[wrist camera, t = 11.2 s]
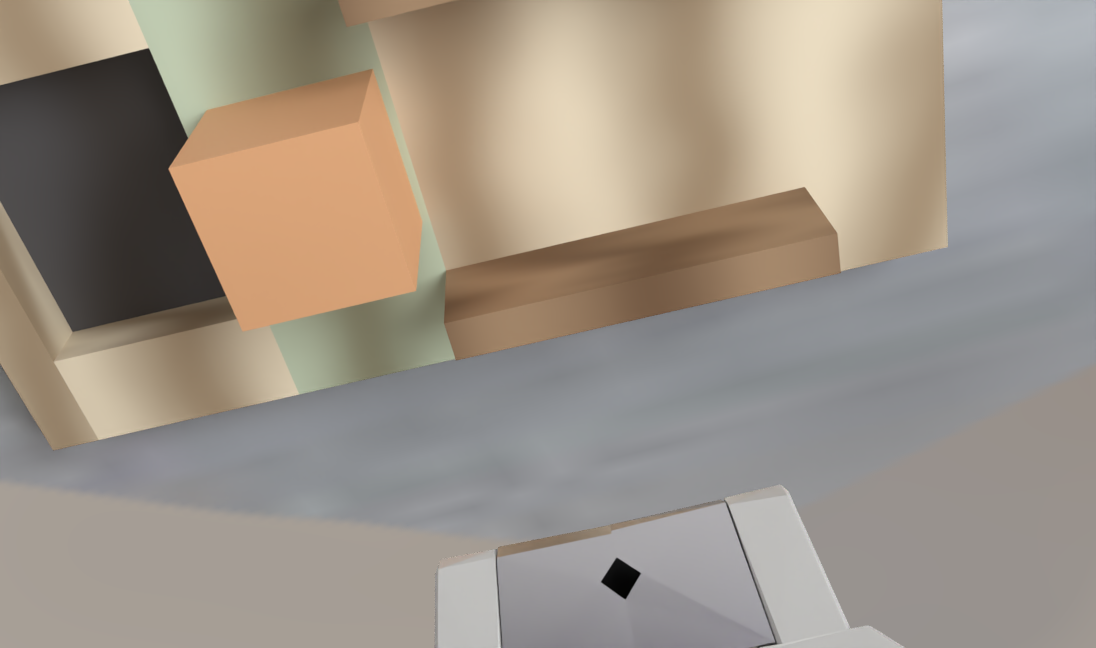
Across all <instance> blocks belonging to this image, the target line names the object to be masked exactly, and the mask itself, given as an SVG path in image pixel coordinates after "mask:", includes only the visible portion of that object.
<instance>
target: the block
mask: <svg viewBox="0 0 1096 648" xmlns="http://www.w3.org/2000/svg"><path fill="white" fill-rule="evenodd" d="M168 169H169V171H170V173H171V176H172V178H173V180H174V182H175V184H176V187H177V189H178V191H179V193H180V195H181V197H182V200H183V202H184V204H185V206H186V208H187V211H188V213H189V215H190V217H191V219H192V222H193V224H194V226H195V228H196V230H197V233H198V235H199V237H200V239H201V241H202V244H203V246H204V248H205V250H206V252H207V255H208V257H209V259H210V261H211V263H212V266H213V268H214V270H215V272H216V274H217V276H218V279H219V281H220V283H221V285H222V287H223V290H224V292H225V294H226V296H227V298H228V301H229V303H230V305H231V307H232V309H233V312H234V314H235V316H236V318H237V320H238V323H239V325H240V327H241V329H242V331H243V332H244V331H248V330H252V329H257V328H261V327H265V326H269V325H274V324H278V323H282V322H286V321H291V320H295V319H299V318H303V317H308V316H312V315H316V314H320V313H325V312H329V311H333V310H337V309H342V308H346V307H350V306H354V305H359V304H363V303H367V302H371V301H376V300H380V299H384V298H388V297H393V296H397V295H401V294H405V293H410V292H414V291H416V289H417V278H418V267H419V256H420V245H421V234H422V223H423V222H422V219H421V216H420V213H419V209H418V206H417V203H416V200H415V197H414V194H413V191H412V188H411V185H410V182H409V179H408V176H407V172H406V169H405V166H404V163H403V160H402V157H401V154H400V151H399V148H398V145H397V142H396V139H395V136H394V132H393V129H392V126H391V123H390V120H389V117H388V114H387V111H386V108H385V105H384V102H383V99H382V96H381V92H380V89H379V86H378V83H377V80H376V77H375V74H374V71H373V69H370V70H365V71H361V72H357V73H353V74H349V75H345V76H341V77H337V78H333V79H329V80H325V81H321V82H317V83H313V84H309V85H305V86H301V87H297V88H293V89H289V90H285V91H281V92H277V93H273V94H269V95H265V96H261V97H257V98H253V99H249V100H245V101H241V102H237V103H233V104H229V105H225V106H221V107H217V108H213V109H209V110H207V111H206V112H205V114H204V115H203V117H202V118H201V120H200V121H199V123H198V124H197V126H196V127H195V129H194V130H193V132H192V133H191V135H190V136H189V138H188V139H187V141H186V143H185V144H184V146H183V147H182V149H181V150H180V152H179V153H178V155H177V156H176V158H175V159H174V161H173V162H172V164H171V165H170V167H169V168H168Z"/></svg>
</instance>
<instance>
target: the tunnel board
mask: <svg viewBox="0 0 1096 648" xmlns="http://www.w3.org/2000/svg"><path fill="white" fill-rule="evenodd" d="M370 69H373V71H374V74H375V77H376V80H377V83H378V86H379V89H380V92H381V96H382V99H383V102H384V105H385V108H386V111H387V114H388V117H389V120H390V123H391V126H392V129H393V132H394V136H395V139H396V142H397V145H398V148H399V151H400V154H401V157H402V160H403V163H404V166H405V169H406V172H407V176H408V179H409V182H410V185H411V188H412V191H413V194H414V197H415V200H416V203H417V206H418V209H419V213H420V216H421V219H422V222H423V223H422V234H421V245H420V256H419V267H418V278H417V289H416V291H414V292H410V293H405V294H401V295H397V296H393V297H388V298H384V299H380V300H376V301H371V302H367V303H363V304H359V305H354V306H350V307H346V308H342V309H337V310H333V311H329V312H325V313H320V314H316V315H312V316H308V317H303V318H299V319H295V320H291V321H286V322H282V323H278V324H274V325H269V326H265V327H261V328H257V329H252V330H248V331H244V332H243V331H242V329H241V327H240V325H239V323H238V320H237V318H236V316H235V314H234V312H233V309H232V307H231V305H230V303H229V301H228V298H227V296H226V294H225V292H224V290H223V287H222V285H221V283H220V281H219V279H218V276H217V274H216V272H215V270H214V268H213V266H212V263H211V261H210V259H209V257H208V255H207V252H206V250H205V248H204V246H203V244H202V241H201V239H200V237H199V235H198V233H197V230H196V228H195V226H194V224H193V222H192V219H191V217H190V215H189V213H188V211H187V208H186V206H185V204H184V202H183V200H182V197H181V195H180V193H179V191H178V189H177V187H176V184H175V182H174V180H173V178H172V176H171V173H170V171H169V169H168V168H169V167H170V165H171V164H172V162H173V161H174V159H175V158H176V156H177V155H178V153H179V152H180V150H181V149H182V147H183V146H184V144H185V143H186V141H187V139H188V138H189V136H190V135H191V133H192V132H193V130H194V129H195V127H196V126H197V124H198V123H199V121H200V120H201V118H202V117H203V115H204V114H205V112H206V111H207V110H209V109H213V108H217V107H221V106H225V105H229V104H233V103H237V102H241V101H245V100H249V99H253V98H257V97H261V96H265V95H269V94H273V93H277V92H281V91H285V90H289V89H293V88H297V87H301V86H305V85H309V84H313V83H317V82H321V81H325V80H329V79H333V78H337V77H341V76H345V75H349V74H353V73H357V72H361V71H365V70H370ZM945 247H948V242H947V197H946V153H945V109H944V65H943V21H942V0H0V364H1V366H2V367H3V369H4V371H5V372H6V374H7V376H8V377H9V379H10V381H11V382H12V384H13V385H14V387H15V389H16V390H17V392H18V394H19V395H20V397H21V399H22V400H23V402H24V403H25V405H26V407H27V408H28V410H29V412H30V413H31V415H32V417H33V418H34V420H35V421H36V423H37V425H38V426H39V428H40V430H41V431H42V433H43V435H44V436H45V438H46V439H47V441H48V443H49V444H50V446H51V448H52V449H53V450H57V449H62V448H66V447H71V446H75V445H79V444H84V443H88V442H93V441H97V440H101V439H106V438H110V437H115V436H119V435H123V434H128V433H132V432H136V431H141V430H145V429H150V428H154V427H158V426H163V425H167V424H172V423H176V422H180V421H185V420H189V419H194V418H198V417H202V416H207V415H211V414H216V413H220V412H224V411H229V410H233V409H238V408H242V407H246V406H251V405H255V404H259V403H264V402H268V401H273V400H277V399H281V398H286V397H290V396H295V395H299V394H303V393H308V392H312V391H317V390H321V389H325V388H330V387H334V386H339V385H343V384H347V383H352V382H356V381H361V380H365V379H369V378H374V377H378V376H383V375H387V374H391V373H396V372H400V371H404V370H409V369H413V368H418V367H422V366H426V365H431V364H435V363H440V362H444V361H448V360H453V359H456V360H460V359H465V358H469V357H474V356H478V355H482V354H487V353H491V352H496V351H500V350H504V349H509V348H513V347H518V346H522V345H526V344H531V343H535V342H540V341H544V340H548V339H553V338H557V337H562V336H566V335H570V334H575V333H579V332H584V331H588V330H592V329H597V328H601V327H605V326H610V325H614V324H619V323H623V322H627V321H632V320H636V319H641V318H645V317H649V316H654V315H658V314H663V313H667V312H671V311H676V310H680V309H685V308H689V307H693V306H698V305H702V304H707V303H711V302H715V301H720V300H724V299H729V298H733V297H737V296H742V295H746V294H751V293H755V292H759V291H764V290H768V289H773V288H777V287H781V286H786V285H790V284H794V283H799V282H803V281H808V280H812V279H816V278H821V277H825V276H830V275H834V274H838V273H841V271H844V270H848V269H853V268H857V267H861V266H866V265H870V264H875V263H879V262H883V261H888V260H892V259H897V258H901V257H905V256H910V255H914V254H919V253H923V252H927V251H932V250H936V249H940V248H945Z"/></svg>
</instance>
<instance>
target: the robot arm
mask: <svg viewBox="0 0 1096 648" xmlns="http://www.w3.org/2000/svg"><path fill="white" fill-rule="evenodd" d="M435 580H436V581H435V582H436V583H435V648H905V647H903V646H901V645H900V644H898V643H897V642H895V641H893V640H892V639H890V638H889V637H887V636H886V635H884V634H882V633H881V632H879V631H878V630H876V629H874V628H873V627H871V626H870V625H868V626H862V627H857V628H851V629H850V627H849V625H848V623H847V620H846V618H845V616H844V613H843V611H842V609H841V607H840V605H839V602H838V600H837V598H836V596H835V594H834V591H833V589H832V587H831V585H830V583H829V580H828V578H827V576H826V574H825V572H824V569H823V567H822V565H821V563H820V560H819V558H818V556H817V554H816V551H815V549H814V547H813V545H812V543H811V540H810V538H809V536H808V534H807V532H806V529H805V527H804V525H803V523H802V520H801V518H800V516H799V514H798V512H797V509H796V507H795V505H794V503H793V501H792V498H791V496H790V494H789V492H788V491H787V490H786V489H785V488H784V487H783V486H781V485H777V486H772V487H768V488H764V489H760V490H756V491H751V492H747V493H743V494H739V495H735V496H730V497H726V498H724V501H722V500H717V501H712V502H708V503H703V504H699V505H695V506H690V507H686V508H682V509H677V510H673V511H668V512H664V513H660V514H655V515H651V516H647V517H642V518H638V519H633V520H629V521H625V522H620V523H616V524H612V525H608V526H603V527H598V528H593V529H588V530H583V531H578V532H573V533H567V534H562V535H557V536H552V537H547V538H542V539H537V540H532V541H527V542H522V543H516V544H511V545H506V546H501V547H498V549H494V550H488V551H482V552H477V553H472V554H467V555H461V556H456V557H451V558H446V559H441V560H440V563H439V565H438V568H437V571H436V576H435Z"/></svg>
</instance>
